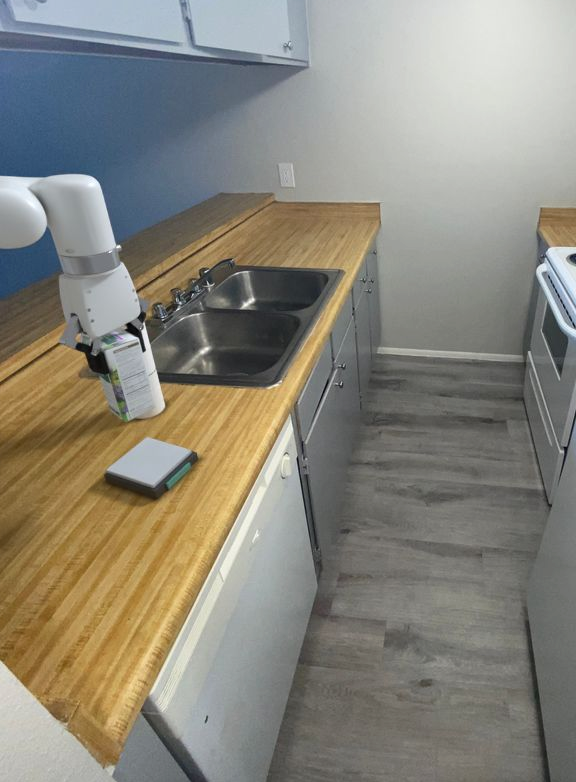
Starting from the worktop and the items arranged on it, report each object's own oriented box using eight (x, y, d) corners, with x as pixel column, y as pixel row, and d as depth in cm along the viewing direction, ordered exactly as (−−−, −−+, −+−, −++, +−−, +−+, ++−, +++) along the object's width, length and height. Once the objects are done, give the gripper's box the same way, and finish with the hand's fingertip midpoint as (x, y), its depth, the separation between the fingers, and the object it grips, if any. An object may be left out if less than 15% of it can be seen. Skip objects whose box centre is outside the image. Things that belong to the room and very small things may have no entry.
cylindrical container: (151, 398, 114) (126, 304, 102) (172, 406, 111) (149, 311, 99) (124, 414, 108) (94, 316, 96) (145, 423, 105) (117, 324, 94)
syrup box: (108, 411, 84) (85, 339, 77) (141, 395, 88) (121, 326, 81) (125, 423, 81) (102, 350, 74) (158, 406, 85) (139, 336, 78)
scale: (107, 484, 90) (102, 471, 88) (151, 447, 99) (148, 434, 97) (159, 502, 86) (155, 489, 85) (200, 462, 96) (197, 449, 94)
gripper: (119, 242, 80) (143, 334, 88) (14, 276, 65) (54, 383, 73) (154, 247, 78) (175, 342, 86) (55, 284, 63) (91, 394, 71)
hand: (119, 360), depth 80 cm, fingers closed on syrup box, 6 cm apart
